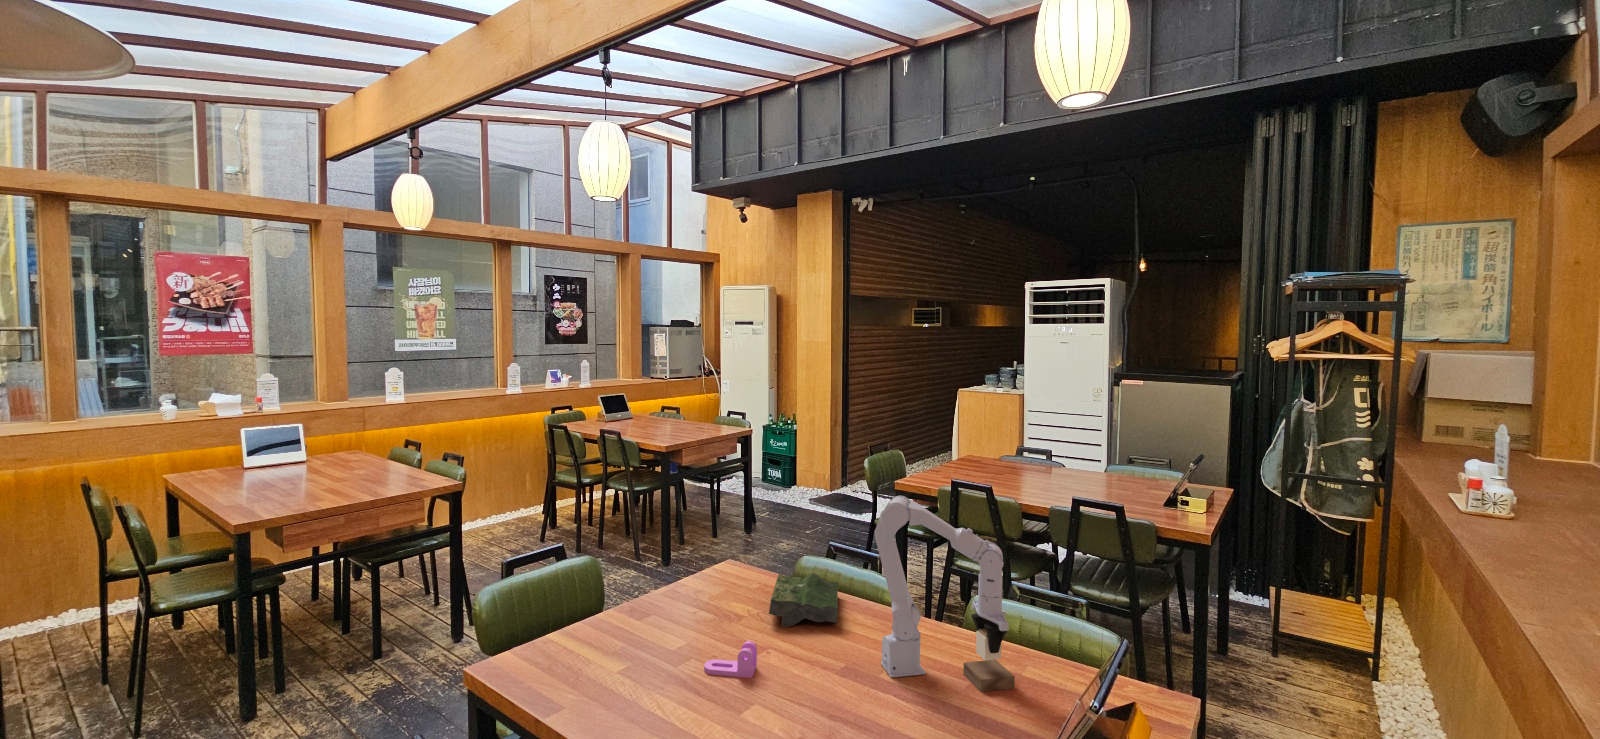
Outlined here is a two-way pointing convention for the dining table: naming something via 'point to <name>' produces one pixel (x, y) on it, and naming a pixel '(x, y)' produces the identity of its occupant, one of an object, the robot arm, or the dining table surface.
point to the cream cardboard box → (985, 646)
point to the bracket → (736, 663)
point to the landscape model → (804, 599)
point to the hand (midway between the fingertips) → (989, 647)
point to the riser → (988, 675)
